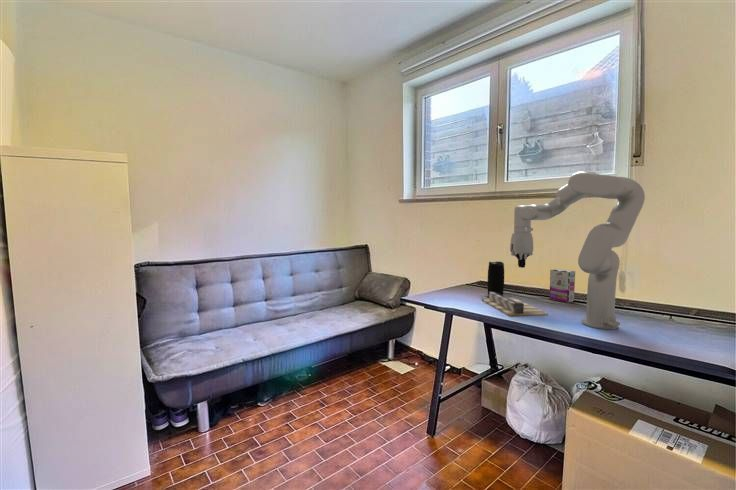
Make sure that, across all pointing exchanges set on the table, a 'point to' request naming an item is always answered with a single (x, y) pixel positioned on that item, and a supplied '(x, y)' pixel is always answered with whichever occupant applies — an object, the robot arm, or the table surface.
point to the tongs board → (512, 306)
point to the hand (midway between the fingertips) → (521, 267)
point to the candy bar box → (562, 285)
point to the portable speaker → (496, 277)
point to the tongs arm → (505, 297)
